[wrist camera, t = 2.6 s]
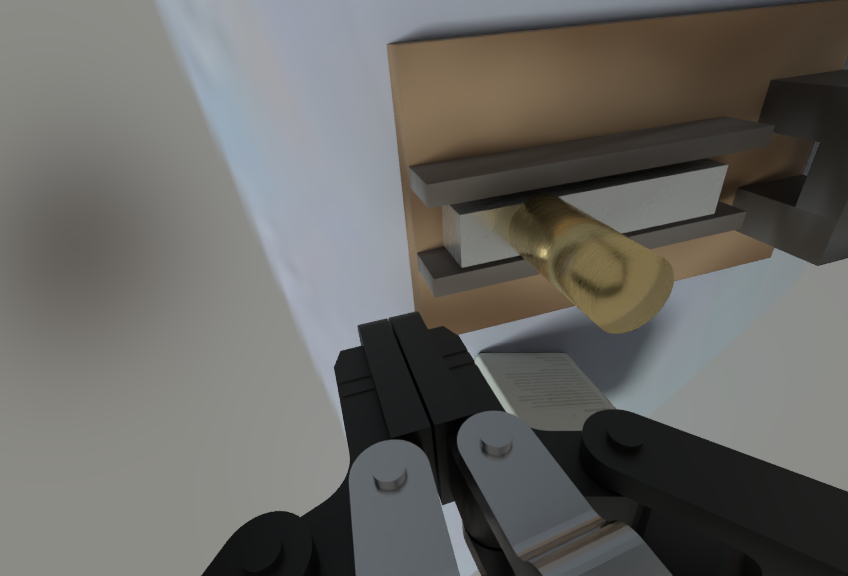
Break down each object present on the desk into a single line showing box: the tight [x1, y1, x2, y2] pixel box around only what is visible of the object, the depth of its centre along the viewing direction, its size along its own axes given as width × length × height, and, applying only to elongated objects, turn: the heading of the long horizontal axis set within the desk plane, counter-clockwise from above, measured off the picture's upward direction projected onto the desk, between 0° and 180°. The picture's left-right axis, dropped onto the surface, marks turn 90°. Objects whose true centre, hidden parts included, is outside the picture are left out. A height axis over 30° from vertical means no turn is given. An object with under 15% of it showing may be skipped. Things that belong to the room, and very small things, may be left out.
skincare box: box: [475, 353, 616, 431], centre depth 23 cm, size 6×6×7 cm
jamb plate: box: [387, 0, 848, 335], centre depth 18 cm, size 12×20×6 cm, turn 94°
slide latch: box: [441, 158, 728, 334], centre depth 15 cm, size 2×11×7 cm, turn 94°
